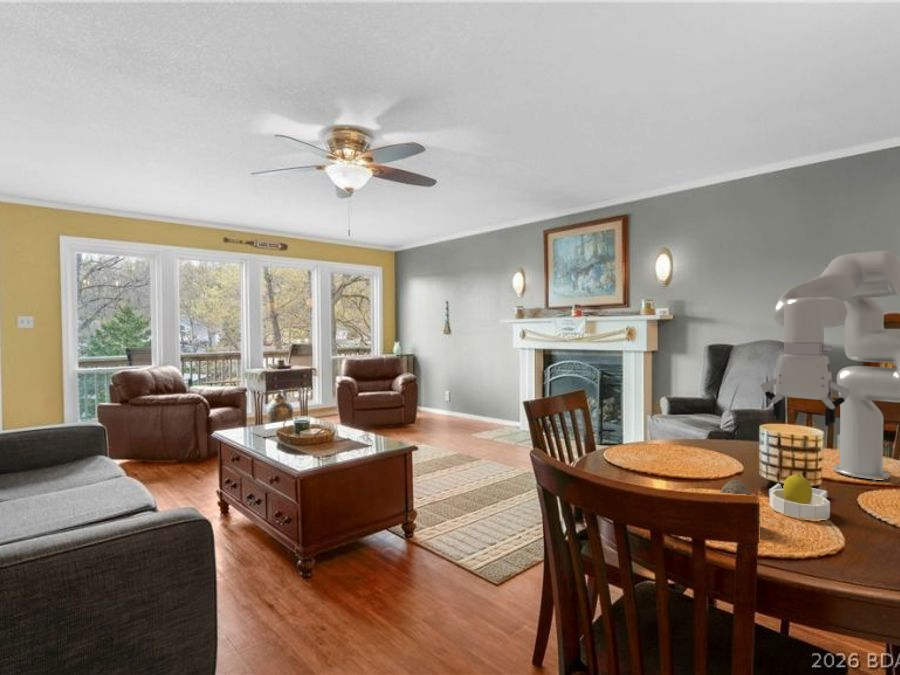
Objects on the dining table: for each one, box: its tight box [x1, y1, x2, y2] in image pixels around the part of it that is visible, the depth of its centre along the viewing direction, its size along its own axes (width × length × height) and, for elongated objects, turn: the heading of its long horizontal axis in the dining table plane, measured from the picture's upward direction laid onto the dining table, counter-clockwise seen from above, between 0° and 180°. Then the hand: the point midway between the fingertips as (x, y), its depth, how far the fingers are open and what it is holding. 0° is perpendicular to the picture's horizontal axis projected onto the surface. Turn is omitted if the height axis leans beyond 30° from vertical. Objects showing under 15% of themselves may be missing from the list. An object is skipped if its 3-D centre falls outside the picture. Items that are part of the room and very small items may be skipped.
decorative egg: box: [719, 479, 753, 496], centre depth 104 cm, size 7×7×10 cm
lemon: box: [782, 473, 813, 504], centre depth 112 cm, size 6×6×8 cm
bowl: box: [769, 488, 831, 521], centre depth 111 cm, size 11×11×4 cm
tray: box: [768, 482, 828, 499], centre depth 121 cm, size 10×10×2 cm
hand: (803, 422), depth 113 cm, fingers open, 9 cm apart
